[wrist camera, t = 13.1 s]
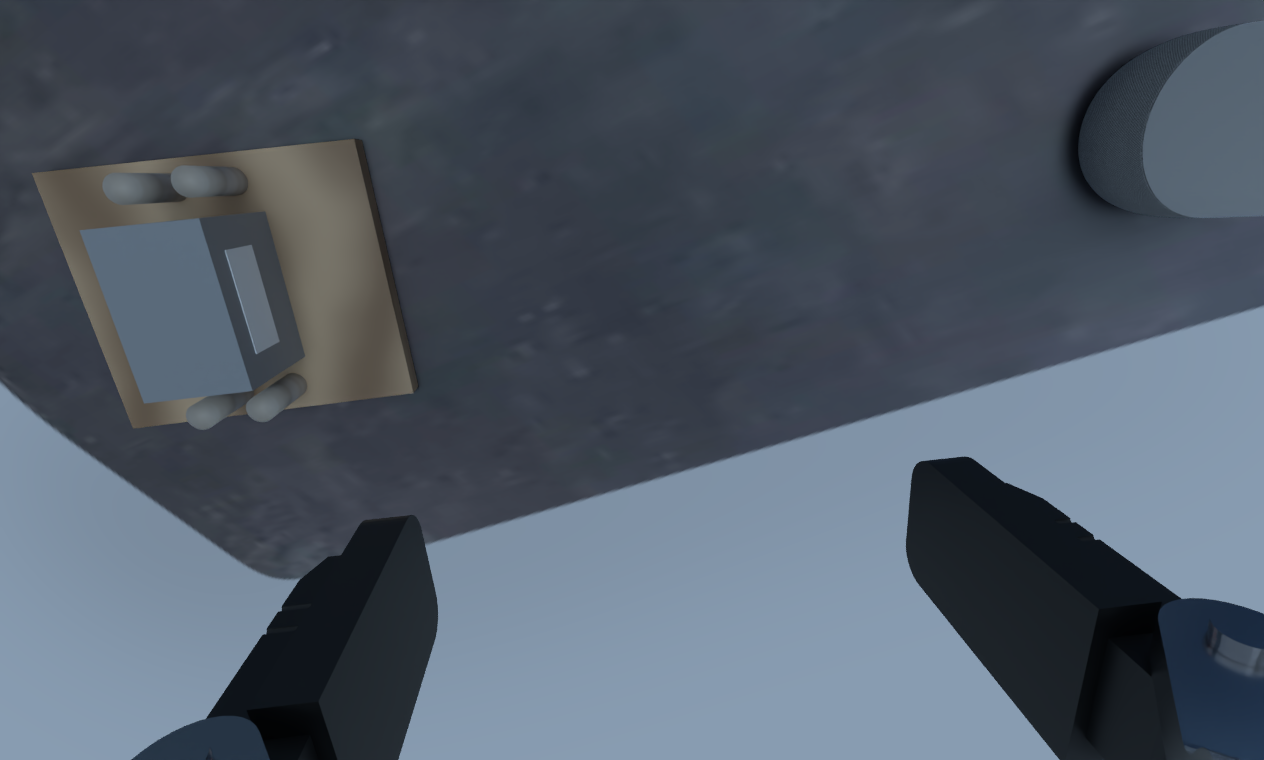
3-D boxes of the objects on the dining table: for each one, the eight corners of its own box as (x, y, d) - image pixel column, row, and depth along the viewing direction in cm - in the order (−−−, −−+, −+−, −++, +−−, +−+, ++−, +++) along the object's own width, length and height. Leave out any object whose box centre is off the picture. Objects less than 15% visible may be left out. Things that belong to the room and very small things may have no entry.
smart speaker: (1181, 6, 34) (1563, -103, 21) (1231, 148, 37) (1596, 131, 24) (1032, 114, 35) (1305, 76, 22) (1091, 244, 38) (1365, 280, 25)
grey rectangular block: (214, 366, 35) (142, 403, 29) (166, 221, 32) (78, 230, 26) (306, 356, 35) (253, 390, 29) (266, 211, 32) (199, 218, 27)
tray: (146, 420, 36) (79, 458, 32) (51, 173, 32) (-45, 172, 27) (418, 386, 37) (394, 418, 32) (361, 140, 33) (324, 133, 28)
